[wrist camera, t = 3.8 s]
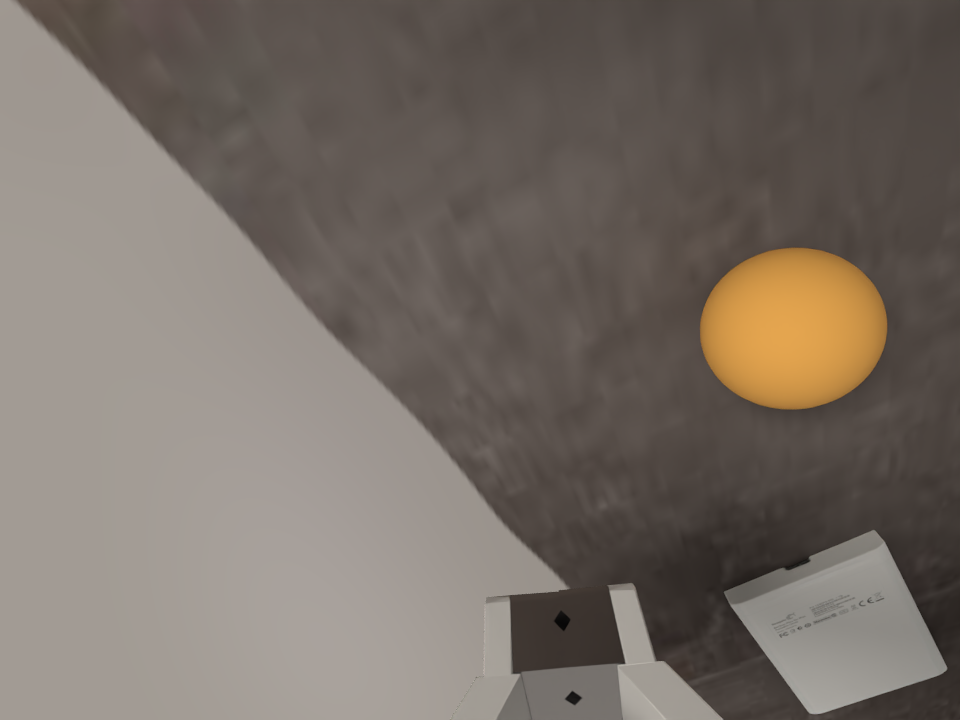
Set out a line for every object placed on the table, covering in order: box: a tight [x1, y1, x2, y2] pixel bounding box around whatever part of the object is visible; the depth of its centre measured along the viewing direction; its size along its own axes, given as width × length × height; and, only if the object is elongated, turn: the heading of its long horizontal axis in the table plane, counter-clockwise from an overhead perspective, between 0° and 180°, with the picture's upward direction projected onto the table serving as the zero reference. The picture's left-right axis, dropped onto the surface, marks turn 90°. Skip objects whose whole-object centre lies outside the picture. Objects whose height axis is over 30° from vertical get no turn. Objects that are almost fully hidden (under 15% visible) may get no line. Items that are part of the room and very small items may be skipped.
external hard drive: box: [724, 530, 947, 714], centre depth 30 cm, size 2×8×12 cm
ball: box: [700, 248, 887, 409], centre depth 19 cm, size 6×6×6 cm
